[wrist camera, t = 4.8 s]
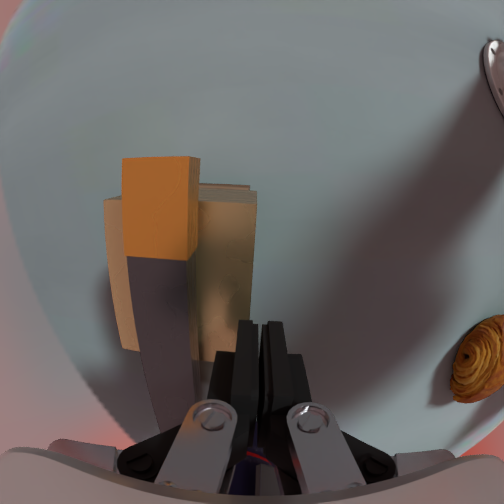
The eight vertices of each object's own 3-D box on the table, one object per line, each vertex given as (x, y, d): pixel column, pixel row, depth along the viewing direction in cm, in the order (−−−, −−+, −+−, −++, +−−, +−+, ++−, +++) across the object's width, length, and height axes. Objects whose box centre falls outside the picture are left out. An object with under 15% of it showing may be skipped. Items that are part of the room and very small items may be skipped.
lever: (130, 159, 8) (107, 159, 7) (214, 158, 8) (204, 156, 7) (167, 440, 13) (161, 460, 11) (215, 447, 13) (212, 469, 11)
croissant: (470, 292, 25) (506, 319, 17) (525, 311, 24) (553, 332, 16) (422, 384, 29) (440, 422, 21) (483, 387, 28) (503, 415, 20)
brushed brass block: (155, 187, 15) (103, 199, 9) (256, 190, 15) (257, 204, 9) (158, 295, 17) (122, 348, 11) (249, 303, 17) (246, 364, 11)
